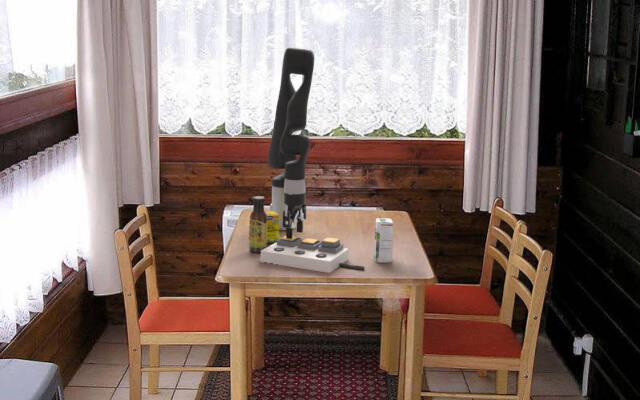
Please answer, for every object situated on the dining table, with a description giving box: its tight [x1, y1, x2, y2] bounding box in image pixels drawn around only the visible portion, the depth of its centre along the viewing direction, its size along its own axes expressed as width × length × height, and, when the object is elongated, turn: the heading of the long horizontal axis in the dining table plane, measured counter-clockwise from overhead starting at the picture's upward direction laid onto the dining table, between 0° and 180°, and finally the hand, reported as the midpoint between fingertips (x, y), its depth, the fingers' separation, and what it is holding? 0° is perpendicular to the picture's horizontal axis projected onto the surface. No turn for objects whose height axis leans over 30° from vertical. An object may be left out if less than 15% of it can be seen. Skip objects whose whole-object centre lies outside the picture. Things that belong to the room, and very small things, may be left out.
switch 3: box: [321, 237, 341, 248], centre depth 274 cm, size 5×5×2 cm
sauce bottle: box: [248, 195, 268, 254], centre depth 284 cm, size 6×6×20 cm
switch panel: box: [260, 235, 366, 274], centre depth 273 cm, size 35×16×6 cm, turn 66°
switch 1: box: [279, 235, 299, 242], centre depth 281 cm, size 5×5×2 cm
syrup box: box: [373, 217, 395, 264], centre depth 276 cm, size 6×6×14 cm
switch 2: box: [301, 237, 320, 246], centre depth 278 cm, size 5×5×2 cm
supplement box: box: [265, 211, 280, 245], centre depth 296 cm, size 6×6×11 cm
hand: (294, 235), depth 284 cm, fingers open, 8 cm apart
